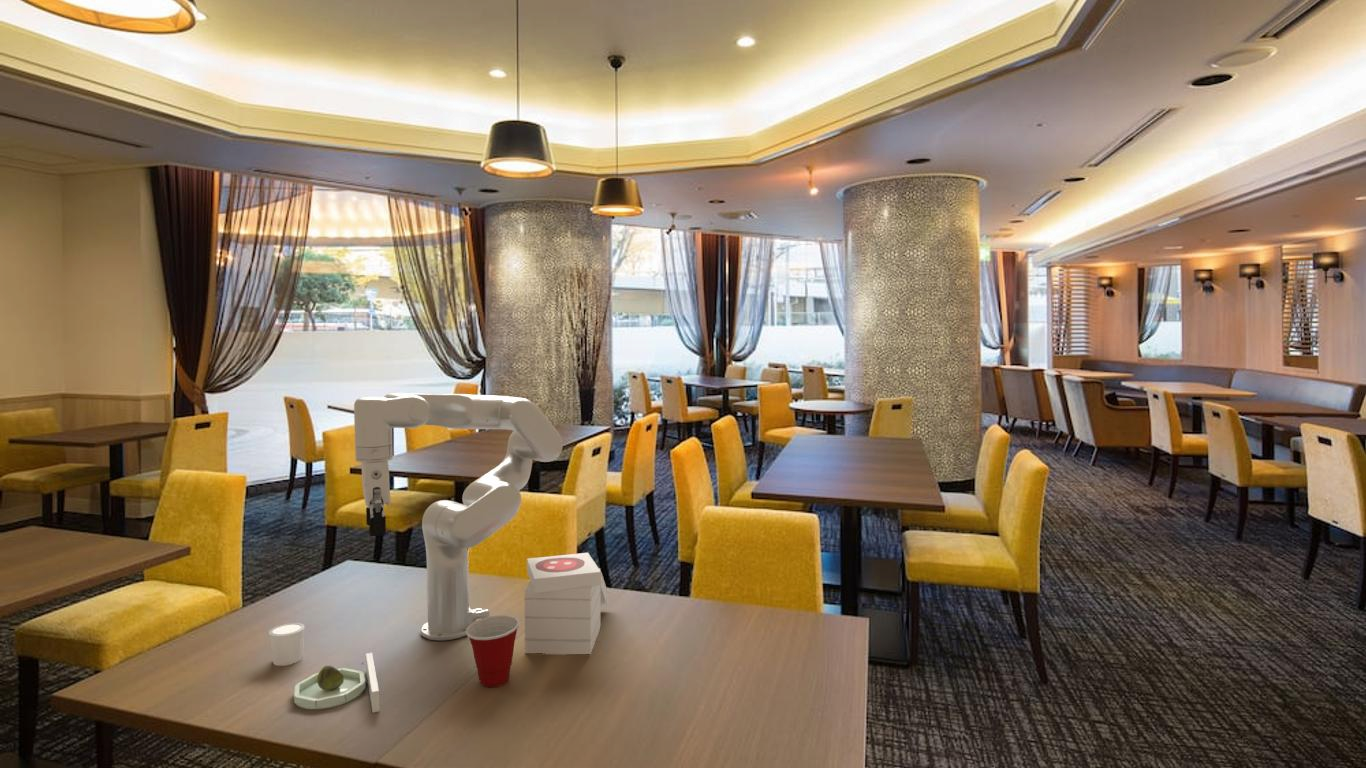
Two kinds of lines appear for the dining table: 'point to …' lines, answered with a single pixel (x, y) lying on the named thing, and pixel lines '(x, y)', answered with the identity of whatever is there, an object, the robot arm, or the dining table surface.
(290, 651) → the white cylinder
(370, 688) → the fence
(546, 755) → the dining table surface
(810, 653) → the dining table surface
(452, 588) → the robot arm
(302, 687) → the dish
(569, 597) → the pizza boxes
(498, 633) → the plastic cup
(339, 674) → the lime
